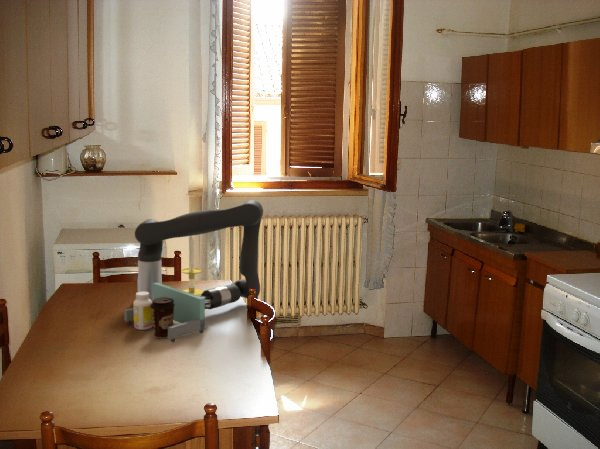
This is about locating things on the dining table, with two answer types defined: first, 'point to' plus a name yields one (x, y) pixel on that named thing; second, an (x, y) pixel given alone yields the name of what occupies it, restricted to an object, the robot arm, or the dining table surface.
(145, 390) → the dining table surface
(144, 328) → the supplement bottle
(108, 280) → the dining table surface
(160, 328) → the coffee cup
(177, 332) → the teal panel stand
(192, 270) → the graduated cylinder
